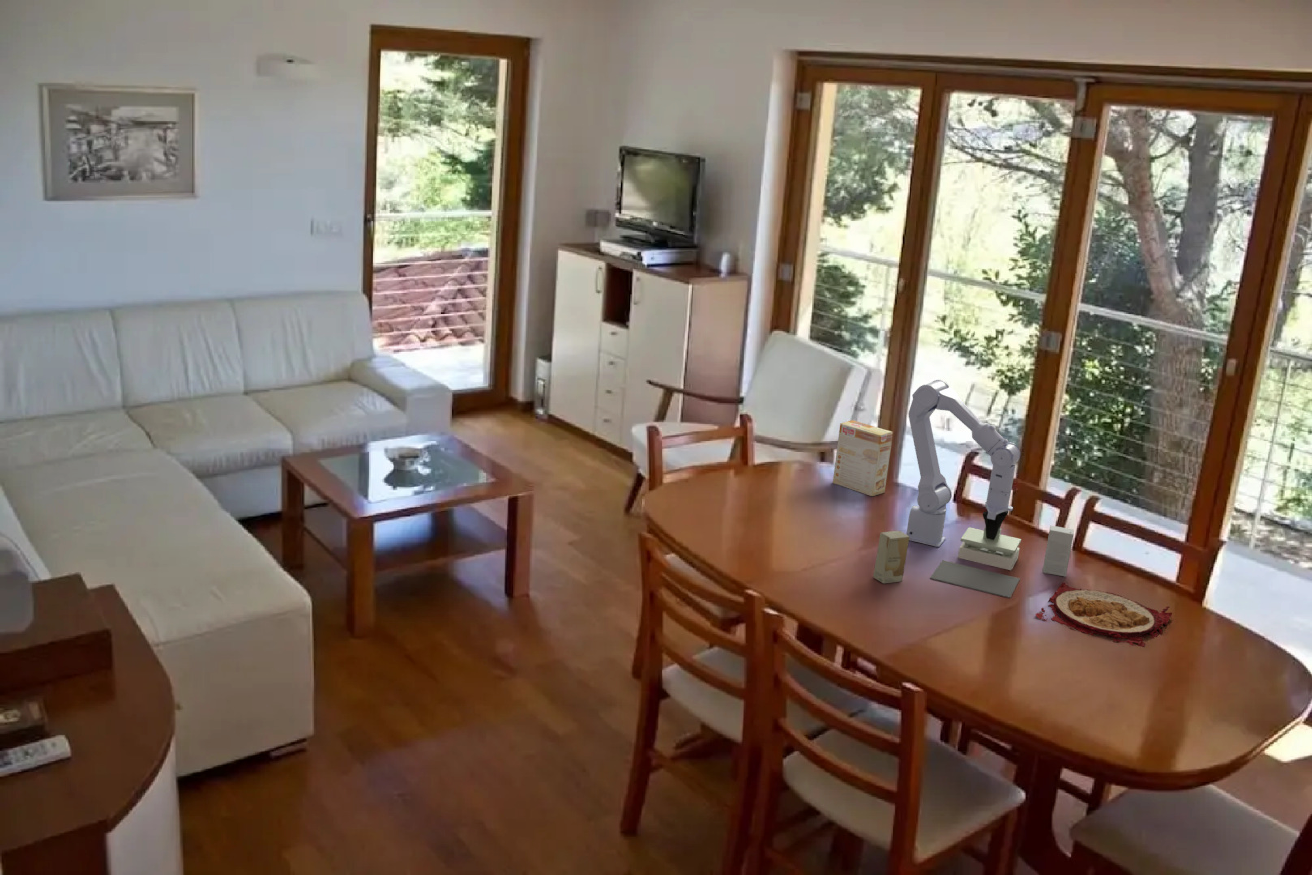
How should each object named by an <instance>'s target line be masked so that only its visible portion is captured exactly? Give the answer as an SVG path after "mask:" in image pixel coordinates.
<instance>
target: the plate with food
mask: <svg viewBox="0 0 1312 875" xmlns="http://www.w3.org/2000/svg"><path fill="white" fill-rule="evenodd" d="M1049 602H1050V603H1052V604H1048V605H1047V606H1048V607H1050V608H1051V611H1052V612H1053V614H1054V615H1053V616H1052V617H1051V621H1053V622H1057V623H1058V624H1060V625H1062V626H1063V625H1065V627H1069V629H1071V630H1073V631H1075V629H1076V630H1077V631H1078V632H1081V633H1085V634H1087V635H1089V634H1090V635H1091V636H1095V635H1094V634H1096V635H1098V634H1099V635H1102V636H1108V638H1109V639H1110V637H1112V640H1113V643H1116V642H1117V643H1128V644H1129V648H1132V647H1133V646H1134V647H1137V646H1138V647H1142V648H1145V647H1146V645H1147V643H1145V642H1144V640H1143V639H1144V638H1145V639H1146V636H1147V635H1149V636H1150V640H1152V639H1153V640H1154V639H1155V638H1158V635H1159V634H1160V635H1161V634H1162V633H1163V629H1161V628H1160V627H1163V626H1167V624H1168V622H1169V620H1170V618H1171V617H1172V615H1173V612H1167V611H1168V609H1169V608H1170V606H1165V608H1163V609H1162V610H1160V611H1158V610H1156V609H1153V608H1150V607H1147V606H1145V605H1143V604H1141V603H1139V602H1138V601H1134V600H1132V599H1129V598H1128V597H1124V596H1122V595H1119V594H1116V593H1114V592H1110V591H1109V592H1108V591H1102V590H1095V589H1094V590H1092V589H1082V588H1077V587H1076V588H1075V587H1072V586H1069V585H1068V584H1066V582H1062V583H1061V584H1060V585H1059V586H1058V588H1057V589H1056V591H1054V594H1052V596H1051V597H1049V599H1048V601H1047V603H1049ZM1045 613H1046V610H1045V608H1044V607H1042V608H1041V609H1040V610H1039V612H1037V613H1035V617H1037V618H1038V620H1041V621H1043V620H1044V622H1048V618H1047V614H1045ZM1045 617H1046V618H1045ZM1149 636H1147V637H1149ZM1106 638H1107V637H1106ZM1120 639H1121V640H1120ZM1124 639H1127V640H1124ZM1109 641H1111V640H1109ZM1135 643H1136V644H1138V645H1136V644H1135Z"/></svg>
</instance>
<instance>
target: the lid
mask: <svg viewBox="0 0 1312 875" xmlns="http://www.w3.org/2000/svg"><path fill="white" fill-rule="evenodd" d="M960 542H962V543H963V542H965V544H969V545H973V546H977V547H982V548H986V549H990V550H995V551H999V552H1003V553H1008V554H1011V553H1015V551H1016V549H1017V548H1019V546H1020V544H1021V542H1022V539H1021V538H1018V537H1013V536H1010V535H1006V534H1002V528H1001V527H1000V528H999V529H998V532H997V535H996V537H995V539H994V540H991V539H987V538H986V526H984V530H982V529H980V528H979V529H978V528H973V527H970V526H969V527H968V528H966V530H965V532H964V533H963V535H962V537H961V538H960Z"/></svg>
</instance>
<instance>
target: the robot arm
mask: <svg viewBox="0 0 1312 875" xmlns="http://www.w3.org/2000/svg"><path fill="white" fill-rule="evenodd" d="M936 410H938V411H948V412H950V413H951V414H952V415H953V416H955V418H956V419H957V420H959V421H960V422H961V423H962V424H963V425H964V426H965V427H967V428H968V429H969V430H970V431H971V438H972V440H973V441H975V443H977V444H978V446H979V447H981V449H982V450H984V451H985V453H987V455H988V456H990V462H991V464H992V469H991V474H990V480H989V485H988V488H987V489H988V490H987V497H986V501H985V503H984V507H985V510H986V511H985V510H984V511H983V512H982V518H983V520H984V524H985V525H984V526H985V527H986V538H987V539H991V540H994V539H995V537H996V535H997V532H998V529H999V528H1001V527H1002V524H1003V521H1004V520H1005V518H1006V517H1007V515H1008V514H1009V512H1012V511H1013V509H1014V507H1013V506H1011V505H1009V504H1010V498H1011V494H1012V488H1013V483H1014V476H1015V468H1016V463H1017V462H1018V461H1020V458H1021V451H1020V449H1019V447H1018V446H1017V444H1016V443H1014V442H1009V439H1007V438H1004V437H1003V436H1002V435H1001V434H1000V433H999V432H998V431H997V430H996V429H997V427H996V426H995V425H994V424H990V423H989V422H982V421H981V420H980V419H979V418H978V416H976V415H975V413H974V412H973V411H972V410H971V409H970V408H969V407H968V406H967V405H966V404H965V402H964V401H963V400H962V399H961V398H960V397H959V395H958V394H957V392H956V391H955V389H954V388H952V387H950V385H949V384H948V383H947V382H946V381H944V380H943V379H936V380H933V381H931V382H929V383H927V384H923V385H920V386H919V387H918V388H917V389H916V390H915V391H914V392H913V393H912V400H911V403H910V406H909V410H908V413H907V414H908V419H909V426H910V430H911V435H912V438H913V439H912V440H913V445H914V450H915V455H916V461H917V465H918V470H919V475H920V478H919V479H920V480H919V482H918V485H917V489H918V494H917V499H916V502H917V505H913V506H911V507H910V508H911V509H910V512H909V514H908V515H909V516H908V522H907V527H906V533H905V534H906V535H908V536H909V542H910V541H911V542H915V543H920V544H924V545H927V546H928V545H929V546H932V547H936V548H940V547H941V545H942V544H943V542H944V541H945V540H946V536H943V534H944V533H943V532H944V528H945V520H946V516H947V514H946V513H947V505H948V504H949V503H950V501H951V500H952V497H953V494H952V490H951V488H950V487H949V485H948V483H947V479H946V478H945V476H944V475H943V474H942V473H941V469H940V468H941V467H940V464H939V459H938V454H937V450H936V445H935V439H934V434H933V429H932V424H931V419H930V417H931V415H932V414H933V413H934V412H935V411H936Z"/></svg>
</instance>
